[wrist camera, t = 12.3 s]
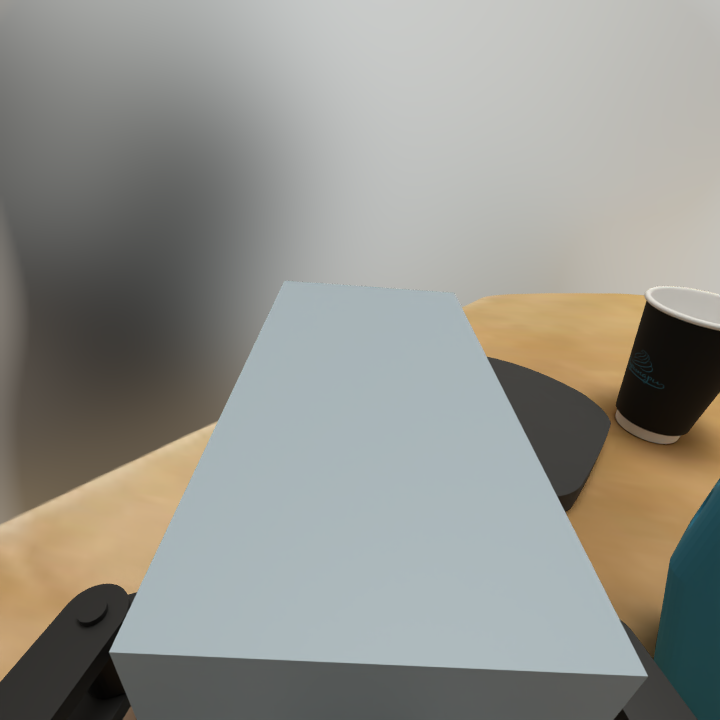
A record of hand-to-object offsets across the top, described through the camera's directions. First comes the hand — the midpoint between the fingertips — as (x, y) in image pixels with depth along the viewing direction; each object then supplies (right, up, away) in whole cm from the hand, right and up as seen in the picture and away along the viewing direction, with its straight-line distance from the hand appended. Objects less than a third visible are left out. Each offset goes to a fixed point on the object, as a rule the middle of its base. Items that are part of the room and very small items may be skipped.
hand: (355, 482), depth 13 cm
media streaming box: (+11, -2, +22) cm, 25 cm away
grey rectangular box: (-1, -8, +2) cm, 8 cm away
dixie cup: (+24, -2, +23) cm, 34 cm away
